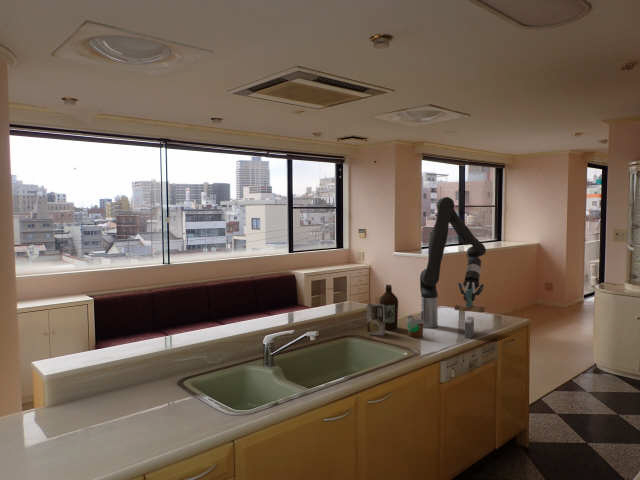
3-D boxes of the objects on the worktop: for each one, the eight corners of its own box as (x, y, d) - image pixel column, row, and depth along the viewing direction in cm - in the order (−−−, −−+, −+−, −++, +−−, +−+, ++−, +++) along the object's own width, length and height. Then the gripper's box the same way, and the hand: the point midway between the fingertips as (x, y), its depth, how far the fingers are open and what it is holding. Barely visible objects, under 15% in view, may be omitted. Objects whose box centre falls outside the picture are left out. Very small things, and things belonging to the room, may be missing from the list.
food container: (401, 334, 263) (401, 316, 262) (411, 333, 265) (411, 315, 264) (413, 339, 251) (413, 320, 251) (424, 338, 254) (424, 319, 253)
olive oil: (380, 325, 282) (380, 283, 281) (398, 326, 280) (398, 283, 279) (378, 330, 272) (378, 286, 270) (398, 331, 270) (397, 286, 268)
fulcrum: (464, 337, 254) (464, 320, 253) (468, 333, 263) (468, 316, 262) (470, 338, 252) (470, 321, 252) (473, 333, 261) (473, 317, 261)
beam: (454, 310, 259) (454, 289, 258) (455, 309, 261) (455, 288, 261) (483, 312, 252) (483, 290, 251) (484, 311, 255) (484, 289, 254)
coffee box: (385, 332, 267) (385, 303, 266) (383, 335, 261) (383, 306, 260) (368, 331, 269) (368, 303, 268) (366, 334, 263) (366, 305, 262)
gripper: (458, 269, 265) (454, 295, 255) (485, 270, 259) (481, 297, 249) (460, 277, 270) (456, 303, 260) (486, 279, 264) (483, 305, 254)
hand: (468, 300), depth 254 cm, fingers closed on beam, 3 cm apart
